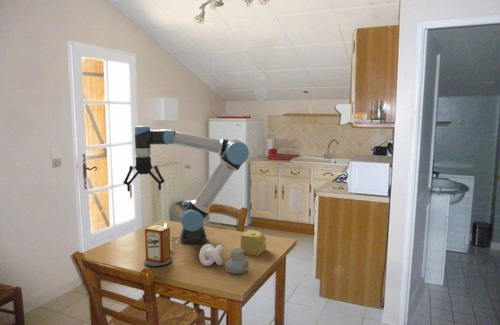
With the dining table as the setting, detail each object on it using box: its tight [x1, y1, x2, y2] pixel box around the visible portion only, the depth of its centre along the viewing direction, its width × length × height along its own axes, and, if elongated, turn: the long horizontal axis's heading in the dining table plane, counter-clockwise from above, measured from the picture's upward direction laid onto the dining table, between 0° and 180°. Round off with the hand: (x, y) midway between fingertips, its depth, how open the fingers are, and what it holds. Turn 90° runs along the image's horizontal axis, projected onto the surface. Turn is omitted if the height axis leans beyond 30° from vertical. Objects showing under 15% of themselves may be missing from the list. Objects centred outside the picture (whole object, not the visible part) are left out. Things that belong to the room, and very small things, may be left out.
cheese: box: [240, 229, 267, 257], centre depth 191 cm, size 10×11×10 cm
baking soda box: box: [144, 224, 172, 263], centre depth 177 cm, size 10×6×16 cm
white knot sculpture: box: [198, 243, 224, 267], centre depth 174 cm, size 11×12×9 cm
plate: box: [143, 255, 173, 267], centre depth 178 cm, size 13×13×1 cm
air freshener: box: [225, 247, 250, 275], centre depth 166 cm, size 11×8×10 cm
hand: (144, 196), depth 191 cm, fingers open, 13 cm apart
